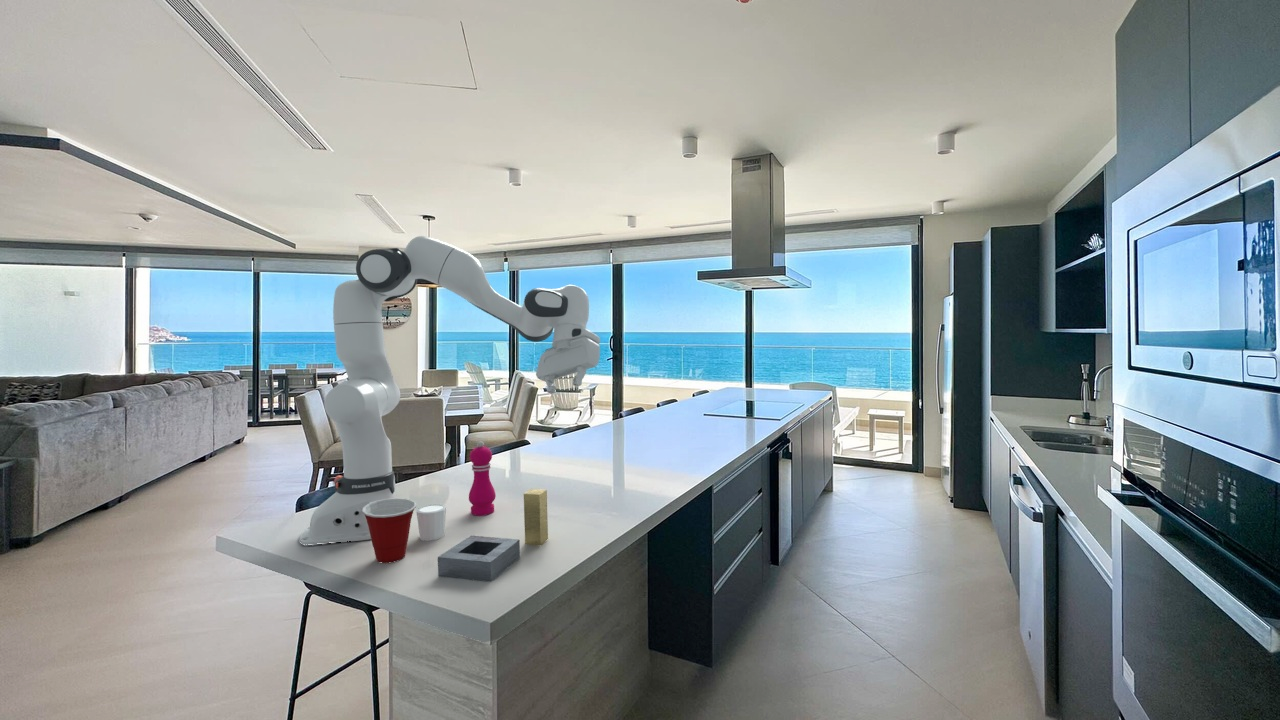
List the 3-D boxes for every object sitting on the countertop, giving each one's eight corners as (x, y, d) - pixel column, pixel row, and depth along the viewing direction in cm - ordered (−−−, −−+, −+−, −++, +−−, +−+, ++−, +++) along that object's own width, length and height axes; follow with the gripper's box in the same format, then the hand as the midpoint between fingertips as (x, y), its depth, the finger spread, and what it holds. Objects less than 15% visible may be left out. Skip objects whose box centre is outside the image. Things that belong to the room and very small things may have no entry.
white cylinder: (411, 538, 127) (410, 509, 127) (436, 529, 133) (435, 502, 133) (428, 543, 124) (427, 514, 123) (453, 534, 129) (452, 506, 129)
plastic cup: (382, 573, 108) (380, 515, 108) (353, 562, 114) (351, 507, 113) (428, 554, 117) (426, 501, 117) (399, 545, 123) (397, 494, 123)
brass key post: (525, 544, 122) (523, 493, 121) (532, 538, 126) (531, 488, 125) (540, 545, 121) (539, 494, 120) (548, 539, 125) (546, 489, 124)
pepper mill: (489, 506, 151) (487, 437, 150) (500, 512, 146) (498, 441, 145) (465, 511, 147) (462, 441, 146) (475, 518, 141) (472, 444, 140)
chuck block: (438, 576, 106) (437, 557, 106) (471, 553, 117) (471, 535, 117) (491, 582, 103) (490, 562, 103) (520, 557, 114) (519, 539, 114)
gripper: (534, 346, 143) (527, 393, 137) (588, 326, 132) (583, 376, 126) (551, 355, 148) (545, 400, 142) (605, 336, 136) (601, 385, 130)
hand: (563, 389), depth 134 cm, fingers open, 8 cm apart
